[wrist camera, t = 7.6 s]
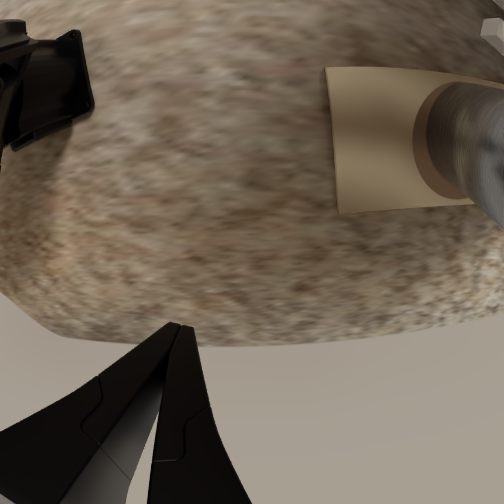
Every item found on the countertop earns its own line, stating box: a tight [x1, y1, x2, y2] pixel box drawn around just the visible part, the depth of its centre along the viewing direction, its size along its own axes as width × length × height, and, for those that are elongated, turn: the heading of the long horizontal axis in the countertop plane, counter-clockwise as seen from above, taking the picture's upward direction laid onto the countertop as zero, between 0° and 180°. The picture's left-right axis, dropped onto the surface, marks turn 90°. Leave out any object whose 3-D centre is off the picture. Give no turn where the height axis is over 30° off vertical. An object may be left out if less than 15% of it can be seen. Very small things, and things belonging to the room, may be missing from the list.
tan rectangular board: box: [325, 67, 504, 214], centre depth 16 cm, size 10×14×1 cm, turn 99°
